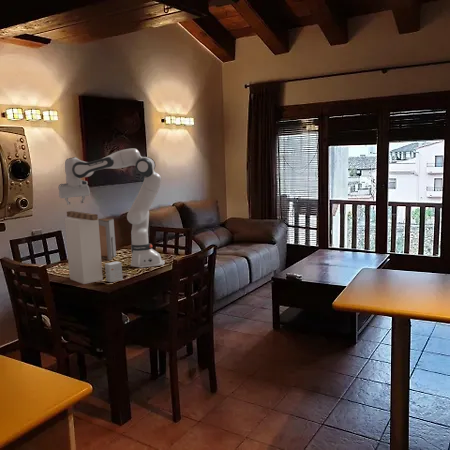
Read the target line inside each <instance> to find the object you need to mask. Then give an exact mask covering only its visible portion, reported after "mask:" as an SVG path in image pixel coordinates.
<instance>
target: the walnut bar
mask: <svg viewBox="0 0 450 450" xmlns="http://www.w3.org/2000/svg"><path fill="white" fill-rule="evenodd" d="M70 217H73V218H80V219H87V220H98V219H99V217H98V214H95V213H88V212H82V211H81V212H80V211H74V210H73V211H72V210H70V211H66V218H70Z"/></svg>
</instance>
